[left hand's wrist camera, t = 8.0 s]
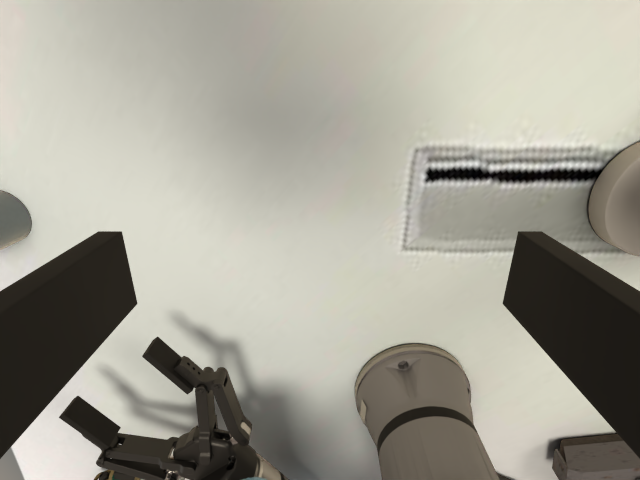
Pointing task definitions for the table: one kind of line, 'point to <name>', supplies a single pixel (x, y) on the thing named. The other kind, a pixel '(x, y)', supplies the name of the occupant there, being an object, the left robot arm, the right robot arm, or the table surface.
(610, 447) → the toy
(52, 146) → the table surface
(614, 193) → the bust sculpture
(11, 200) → the bottle
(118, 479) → the spray gun
